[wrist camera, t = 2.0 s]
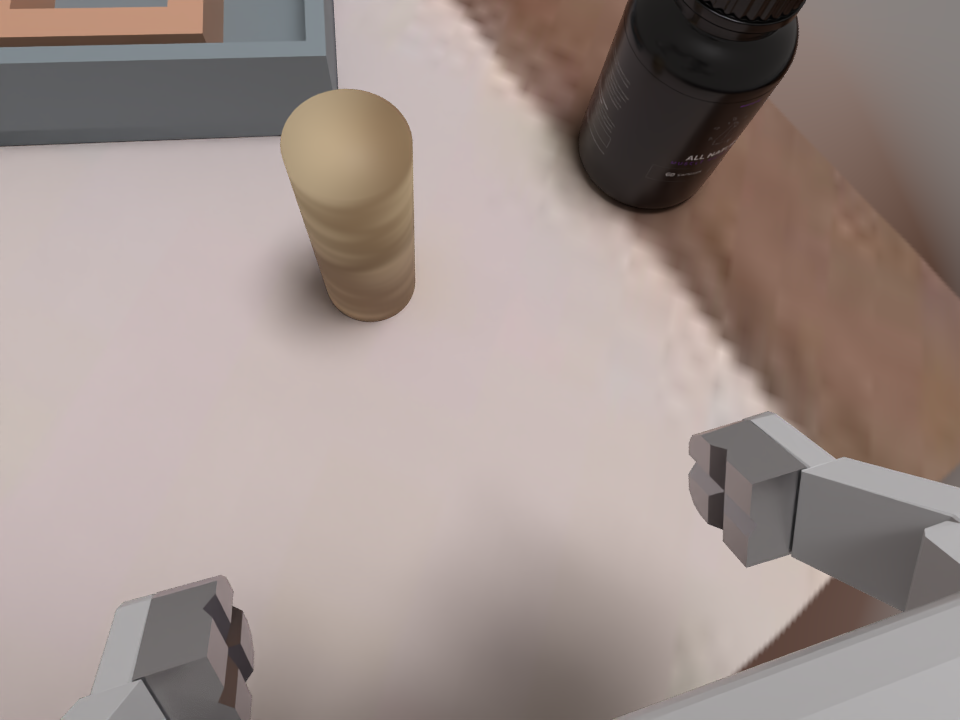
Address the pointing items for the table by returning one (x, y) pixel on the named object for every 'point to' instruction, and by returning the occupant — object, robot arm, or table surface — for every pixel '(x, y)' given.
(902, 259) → the table surface
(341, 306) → the beech peg
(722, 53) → the supplement bottle
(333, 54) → the open-top box
